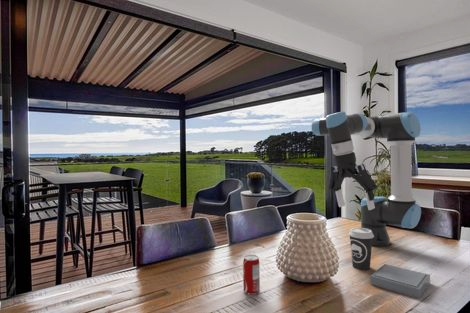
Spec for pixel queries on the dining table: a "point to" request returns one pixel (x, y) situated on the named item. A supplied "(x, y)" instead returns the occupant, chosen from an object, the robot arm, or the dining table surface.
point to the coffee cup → (361, 247)
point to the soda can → (251, 274)
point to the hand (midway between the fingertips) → (356, 207)
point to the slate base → (401, 280)
